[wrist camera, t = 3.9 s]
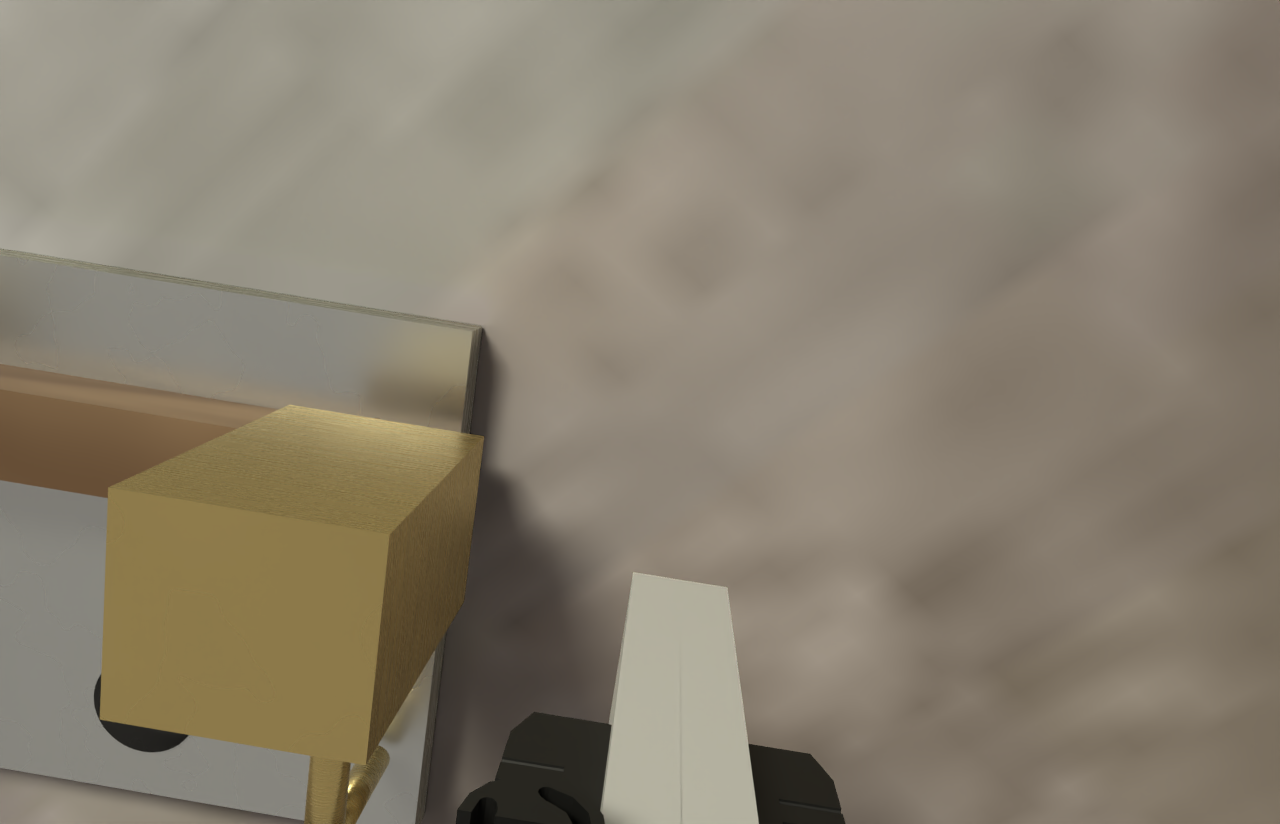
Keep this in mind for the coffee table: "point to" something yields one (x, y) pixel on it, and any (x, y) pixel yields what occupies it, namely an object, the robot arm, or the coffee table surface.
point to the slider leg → (289, 588)
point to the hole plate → (77, 523)
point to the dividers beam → (100, 428)
